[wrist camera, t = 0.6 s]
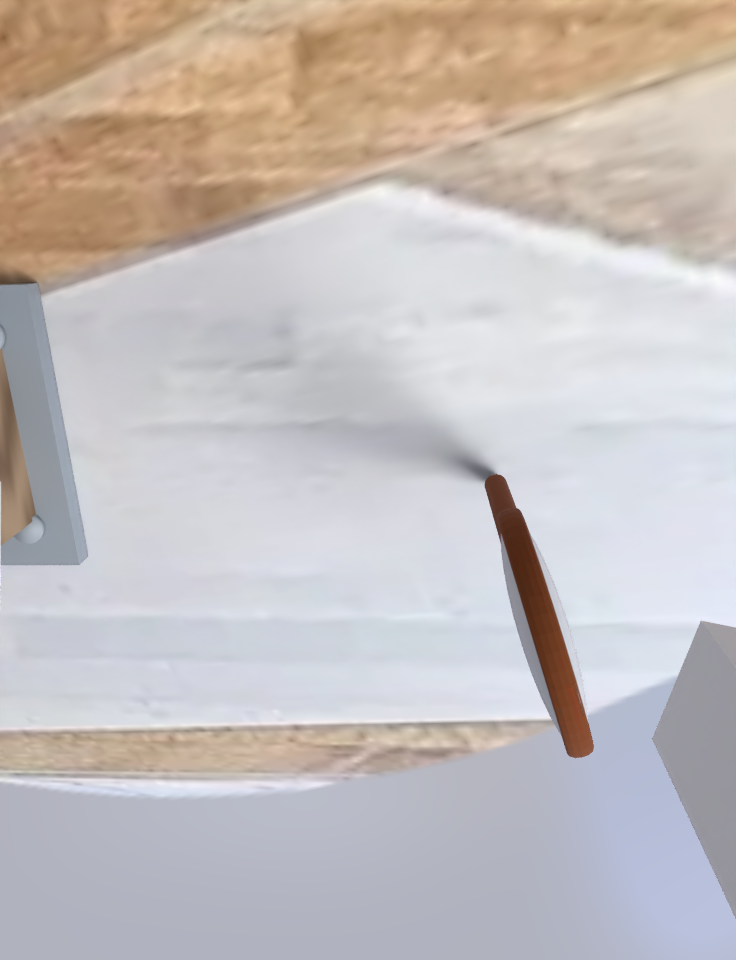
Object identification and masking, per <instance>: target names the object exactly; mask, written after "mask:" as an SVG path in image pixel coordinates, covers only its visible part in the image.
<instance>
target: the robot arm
mask: <svg viewBox="0 0 736 960" xmlns="http://www.w3.org/2000/svg"><path fill="white" fill-rule="evenodd" d="M0 583H1V481H0ZM652 740H653V742H654V744H655V746H656V748H657V750H658V753H659V755H660V757H661V759H662V761H663V763H664V766H665V768H666V770H667V772H668V774H669V776H670V778H671V780H672V783H673V785H674V787H675V789H676V791H677V793H678V795H679V798H680V800H681V802H682V804H683V806H684V808H685V811H686V813H687V815H688V817H689V819H690V821H691V823H692V826H693V828H694V830H695V832H696V834H697V836H698V839H699V840H700V843H701V845H702V847H703V849H704V851H705V854H706V856H707V858H708V860H709V862H710V864H711V866H712V869H713V871H714V873H715V875H716V877H717V879H718V881H719V884H720V885H721V888H722V890H723V892H724V894H725V897H726V899H727V901H728V903H729V905H730V907H731V909H732V911H733V914H734V916H735V918H736V628H734V627H729V626H724V625H719V624H714V623H709V622H704V621H701V622H700V625H699V627H698V629H697V632H696V634H695V637H694V639H693V641H692V644H691V646H690V649H689V651H688V654H687V656H686V658H685V661H684V663H683V666H682V668H681V670H680V673H679V675H678V678H677V680H676V683H675V685H674V688H673V690H672V692H671V695H670V697H669V700H668V702H667V704H666V707H665V709H664V712H663V714H662V716H661V719H660V721H659V724H658V726H657V729H656V731H655V733H654V736H653V738H652Z"/></svg>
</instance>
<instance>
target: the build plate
mask: <svg viewBox="0 0 736 960" xmlns="http://www.w3.org/2000/svg"><path fill="white" fill-rule="evenodd" d="M0 349H2V352H3V357H4V362H5V367H6V372H7V376H8V381H9V386H10V391H11V396H12V401H13V405H14V410H15V415H16V420H17V425H18V429H19V434H20V439H21V444H22V449H23V454H24V458H25V463H26V468H27V473H28V478H29V483H30V487H31V492H32V497H33V502H34V507H35V511H36V515H35V516H33V517H32V522H31V523H30V524H29V525H27V526H26V527H25V528H24V529H22V530H21V531H20V532H18V533H17V534H16V535H14V536H13V537H12V538H10V539H9V540H8V541H7V542H5V543H4V544H3V545H1V565H80V564H81V563H82V562H83V561H84V560H85V559H86V558H87V557H88V552H87V547H86V542H85V536H84V531H83V525H82V520H81V514H80V509H79V504H78V498H77V493H76V487H75V482H74V476H73V471H72V466H71V460H70V455H69V449H68V444H67V438H66V433H65V428H64V422H63V417H62V411H61V406H60V401H59V395H58V390H57V384H56V379H55V373H54V368H53V363H52V357H51V352H50V346H49V341H48V335H47V330H46V325H45V319H44V314H43V308H42V303H41V297H40V292H39V287H38V283H21V284H0Z"/></svg>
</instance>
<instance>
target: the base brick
mask: <svg viewBox="0 0 736 960" xmlns="http://www.w3.org/2000/svg"><path fill="white" fill-rule="evenodd" d="M0 481H1V545H3V544H4V543H5V542H7V541H8V540H9V539H10V538H12V537H13V536H14V535H16V534H17V533H18V532H20V531H21V530H22V529H24V528H25V527H26V526H27V525H29V524H30V523H31V522H32V517H33V516H35V515H36V511H35V507H34V502H33V497H32V492H31V487H30V483H29V478H28V473H27V468H26V463H25V458H24V454H23V449H22V444H21V439H20V434H19V429H18V425H17V420H16V415H15V410H14V405H13V401H12V396H11V391H10V386H9V381H8V376H7V372H6V367H5V362H4V357H3V352H2V349H0Z"/></svg>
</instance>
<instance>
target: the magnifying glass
mask: <svg viewBox="0 0 736 960" xmlns="http://www.w3.org/2000/svg"><path fill="white" fill-rule="evenodd" d="M485 489H486V492H487V496H488V499H489V503H490V506H491V510H492V514H493V517H494V521H495V524H496V528H497V531H498V535H499V538H500V542H501V552H502V560H503V568H504V574H505V580H506V585H507V590H508V595H509V599H510V603H511V608H512V612H513V616H514V620H515V623H516V627H517V630H518V634H519V637H520V640H521V643H522V647H523V650H524V653H525V656H526V659H527V662H528V664H529V667H530V670H531V673H532V676H533V678H534V681H535V683H536V686H537V688H538V690H539V693H540V695H541V698H542V700H543V702H544V704H545V706H546V708H547V710H548V713H549V715H550V717H551V719H552V720H553V722H554V724H555V726H556V727H557V729H558V731H559V732H560V734H561V735H562V738H563V741H564V745H565V748H566V751H567V754H568V755H569V756H571V757H574V758H579V757H584V756H587V755H589V754H590V753H592V752H593V748H594V745H593V740H592V736H591V732H590V728H589V724H588V715H587V704H586V698H585V691H584V684H583V680H582V675H581V670H580V666H579V661H578V657H577V653H576V649H575V646H574V642H573V638H572V635H571V631H570V628H569V624H568V621H567V618H566V615H565V612H564V609H563V606H562V603H561V601H560V598H559V595H558V592H557V589H556V587H555V584H554V582H553V579H552V577H551V575H550V572H549V570H548V567H547V565H546V563H545V560H544V558H543V556H542V554H541V552H540V550H539V548H538V546H537V544H536V543H535V541H534V539H533V538H532V536H531V534H530V533H529V530H528V528H527V525H526V522H525V520H524V517H523V515H522V513H521V511H520V510H519V509H517V508H516V506H515V503H514V501H513V498H512V495H511V493H510V490H509V487H508V485H507V482H506V480H505V478H504V477H503V476H501V475H498V474H491V475H490V476H489V477H488V478H487V480H486V481H485Z"/></svg>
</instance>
